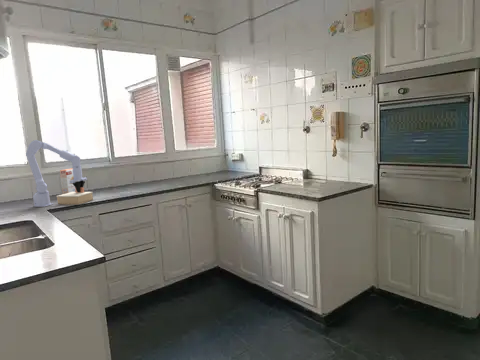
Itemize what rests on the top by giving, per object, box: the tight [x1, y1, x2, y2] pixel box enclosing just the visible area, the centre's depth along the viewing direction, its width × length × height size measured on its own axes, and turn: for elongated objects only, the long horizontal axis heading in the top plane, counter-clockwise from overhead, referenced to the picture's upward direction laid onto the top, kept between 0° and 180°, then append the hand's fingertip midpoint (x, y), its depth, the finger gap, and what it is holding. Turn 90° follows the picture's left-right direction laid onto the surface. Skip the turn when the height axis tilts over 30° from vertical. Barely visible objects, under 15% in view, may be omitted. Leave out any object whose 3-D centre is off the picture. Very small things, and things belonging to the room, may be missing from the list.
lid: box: [56, 186, 93, 198], centre depth 231 cm, size 18×14×4 cm
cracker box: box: [59, 167, 76, 194], centre depth 256 cm, size 14×6×21 cm, turn 168°
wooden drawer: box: [56, 193, 94, 205], centre depth 231 cm, size 17×14×5 cm
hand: (80, 191), depth 236 cm, fingers closed on lid
